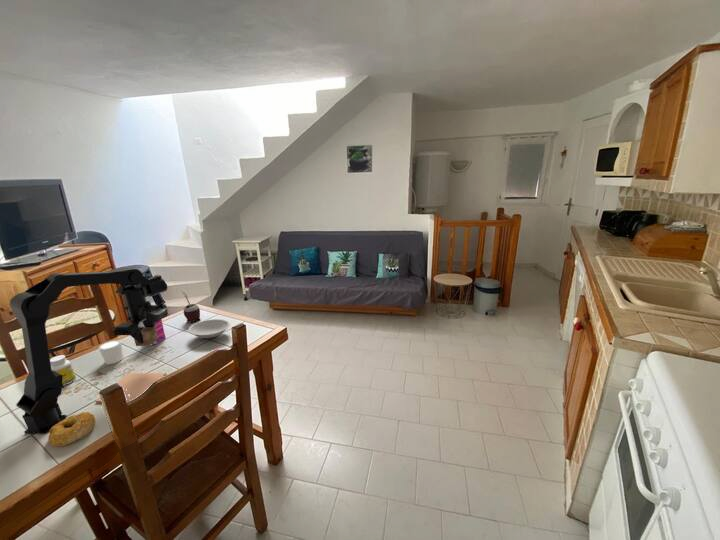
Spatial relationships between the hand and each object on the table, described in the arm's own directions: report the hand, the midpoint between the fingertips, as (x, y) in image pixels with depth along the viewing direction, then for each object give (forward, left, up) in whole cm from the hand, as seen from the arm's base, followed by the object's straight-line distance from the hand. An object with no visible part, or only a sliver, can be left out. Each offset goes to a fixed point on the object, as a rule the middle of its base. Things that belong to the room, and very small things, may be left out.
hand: (146, 339), depth 112 cm
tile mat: (-13, -2, -11) cm, 17 cm away
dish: (+21, -12, -11) cm, 27 cm away
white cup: (+3, +18, -11) cm, 22 cm away
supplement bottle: (-10, +25, -11) cm, 29 cm away
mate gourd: (+36, +5, -11) cm, 38 cm away
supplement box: (+17, +11, -11) cm, 23 cm away
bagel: (-32, +1, -12) cm, 34 cm away
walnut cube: (0, 0, -1) cm, 1 cm away
